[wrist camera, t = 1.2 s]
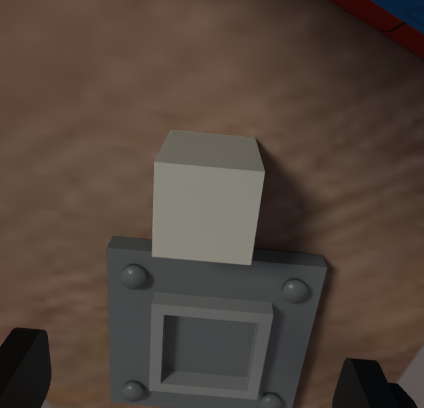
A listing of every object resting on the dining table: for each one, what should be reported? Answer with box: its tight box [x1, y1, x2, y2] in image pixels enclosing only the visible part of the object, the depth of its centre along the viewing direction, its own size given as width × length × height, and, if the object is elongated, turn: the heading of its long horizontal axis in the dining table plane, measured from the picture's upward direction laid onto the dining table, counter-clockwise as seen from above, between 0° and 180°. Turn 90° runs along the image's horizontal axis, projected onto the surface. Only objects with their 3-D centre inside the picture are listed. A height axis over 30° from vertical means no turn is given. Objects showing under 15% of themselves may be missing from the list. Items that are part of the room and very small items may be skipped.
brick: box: [152, 130, 265, 265], centre depth 21 cm, size 5×5×6 cm
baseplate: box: [107, 236, 327, 408], centre depth 28 cm, size 14×14×3 cm
